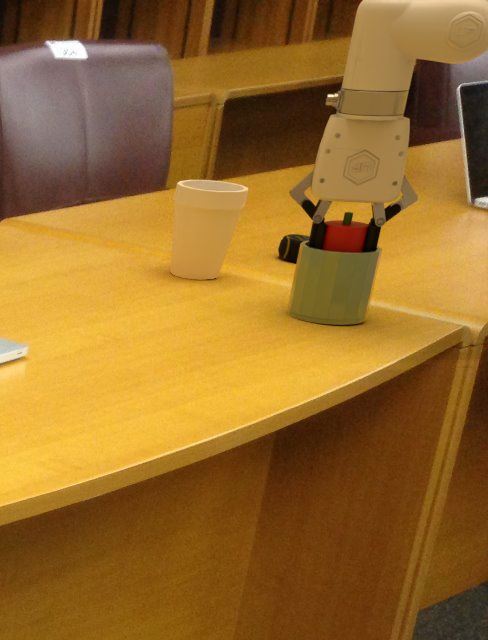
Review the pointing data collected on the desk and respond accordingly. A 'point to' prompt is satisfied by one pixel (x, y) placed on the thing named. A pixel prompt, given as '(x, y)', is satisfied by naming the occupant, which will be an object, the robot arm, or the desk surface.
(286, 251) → the tape measure
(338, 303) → the ceramic cup
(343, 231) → the pepper
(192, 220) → the foam cup
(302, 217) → the desk surface
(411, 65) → the robot arm
